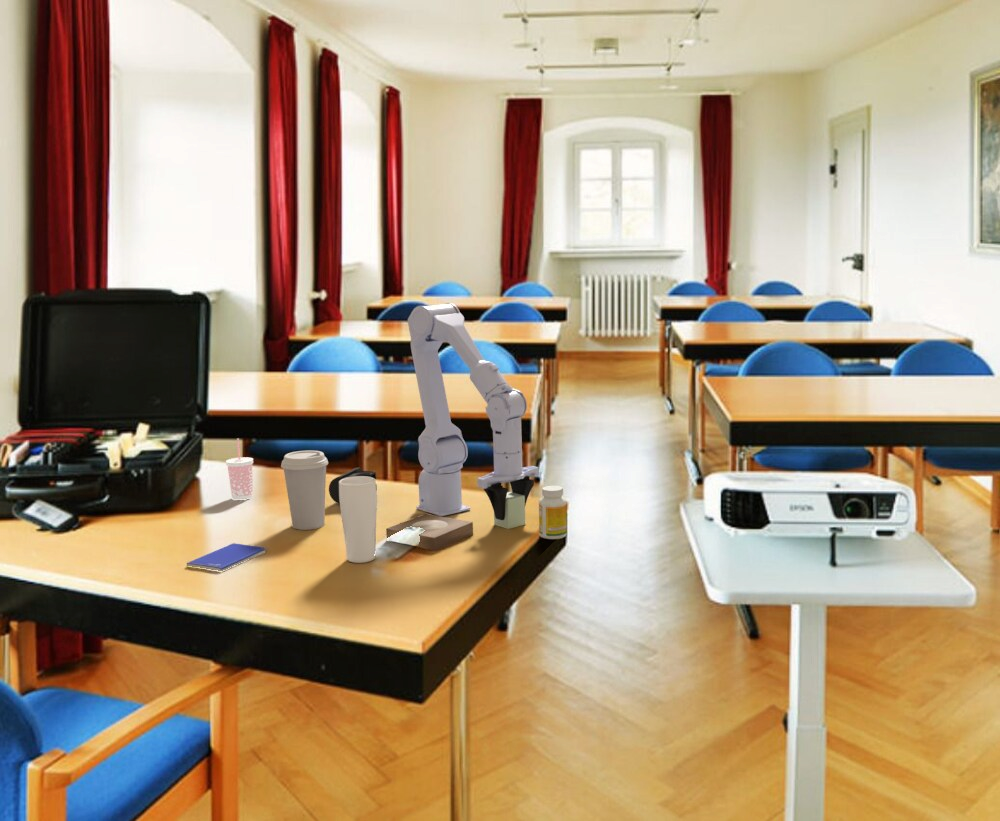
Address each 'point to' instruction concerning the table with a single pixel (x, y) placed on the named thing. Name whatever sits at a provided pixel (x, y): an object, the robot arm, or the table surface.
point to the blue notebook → (227, 557)
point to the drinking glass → (359, 517)
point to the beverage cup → (240, 476)
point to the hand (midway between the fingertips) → (509, 516)
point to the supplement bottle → (552, 513)
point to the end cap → (355, 472)
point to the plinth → (436, 530)
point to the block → (513, 511)
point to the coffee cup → (306, 488)
